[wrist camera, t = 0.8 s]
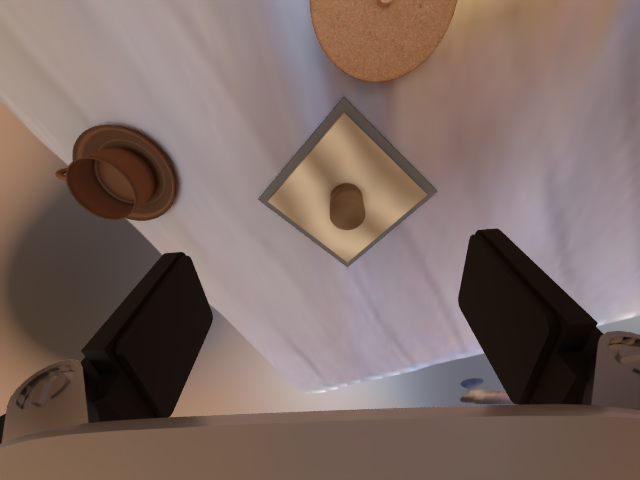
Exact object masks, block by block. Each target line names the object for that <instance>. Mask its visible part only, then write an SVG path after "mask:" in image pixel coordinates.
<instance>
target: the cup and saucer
mask: <svg viewBox="0 0 640 480" xmlns="http://www.w3.org/2000/svg"><path fill="white" fill-rule="evenodd" d="M64 173H66V175H63V174H64ZM56 176H57V177H58V178H60V179H62V180H66V182H67V186H68V188H69V190H70V192H71V194H72V196H73V197H74V198H75V200H76V201H77V202H78V203H79V204H80V205H81V206H82V207H83V208H85V209H86V210H87V211H89V212H91V213H92V214H94V215H96V216H98V217H101V218H104V219H109V220H119V219H123V218H127V219H131V220H138V221H145V220H151V219H155V218H158V217H159V216H161V215H163V214H164V213H165V212H166V211H167V210H168V209H169V208H170V206H171V204H172V202H173V200H174V197H175V190H176V187H175V179H174V175H173V172H172V170H171V167H170V165H169V163H168V162H167V160H166V159H165V157H164V156H163V154H162V153H161V152H160V151H159V150H158V149H157V148H156V147H155V146H154V145H153V144H152V143H151V142H150V141H149V140H147V139H146V138H144V137H143V136H141V135H140V134H138V133H136V132H134V131H132V130H129V129H126V128H123V127H119V126H112V125H101V126H95V127H92V128H90V129H88V130H86V131H84V132H83V133H82V134H81V135H80V136H79V137H78V139H77V140H76V142H75V145H74V148H73V162H72V163H71V164H70V165H69V166H68V168H65V169H61V170H58V171H57V172H56Z"/></svg>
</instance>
